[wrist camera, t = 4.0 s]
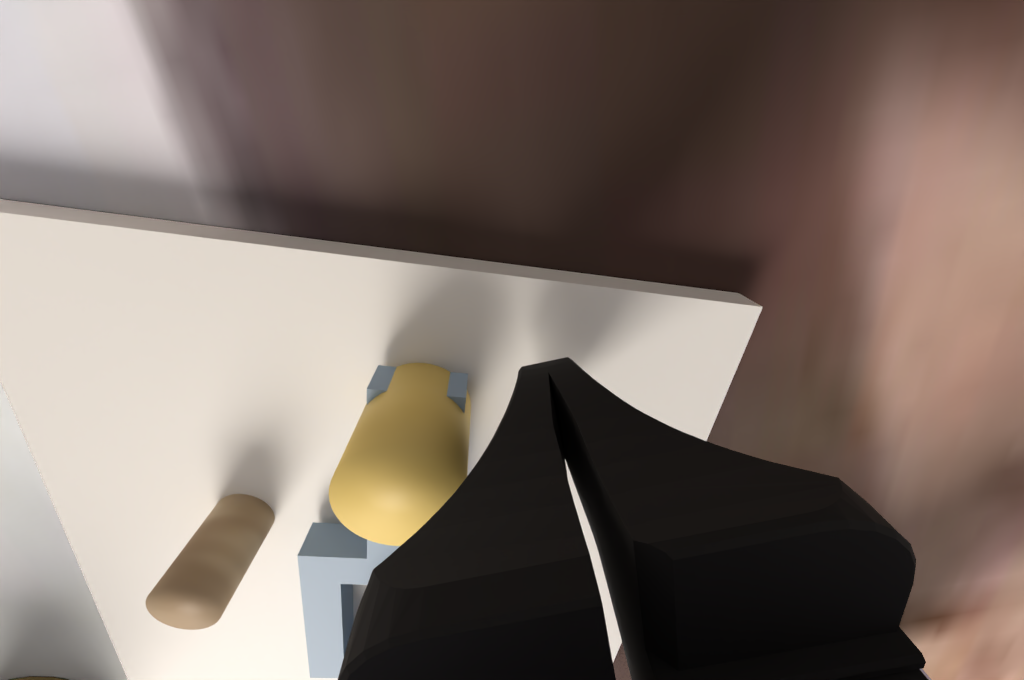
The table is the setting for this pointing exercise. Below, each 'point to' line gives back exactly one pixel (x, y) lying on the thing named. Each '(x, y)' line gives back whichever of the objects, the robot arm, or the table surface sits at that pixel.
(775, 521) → the robot arm
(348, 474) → the square ring with handle
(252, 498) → the dowel
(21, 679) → the cork
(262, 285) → the base plate
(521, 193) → the table surface
